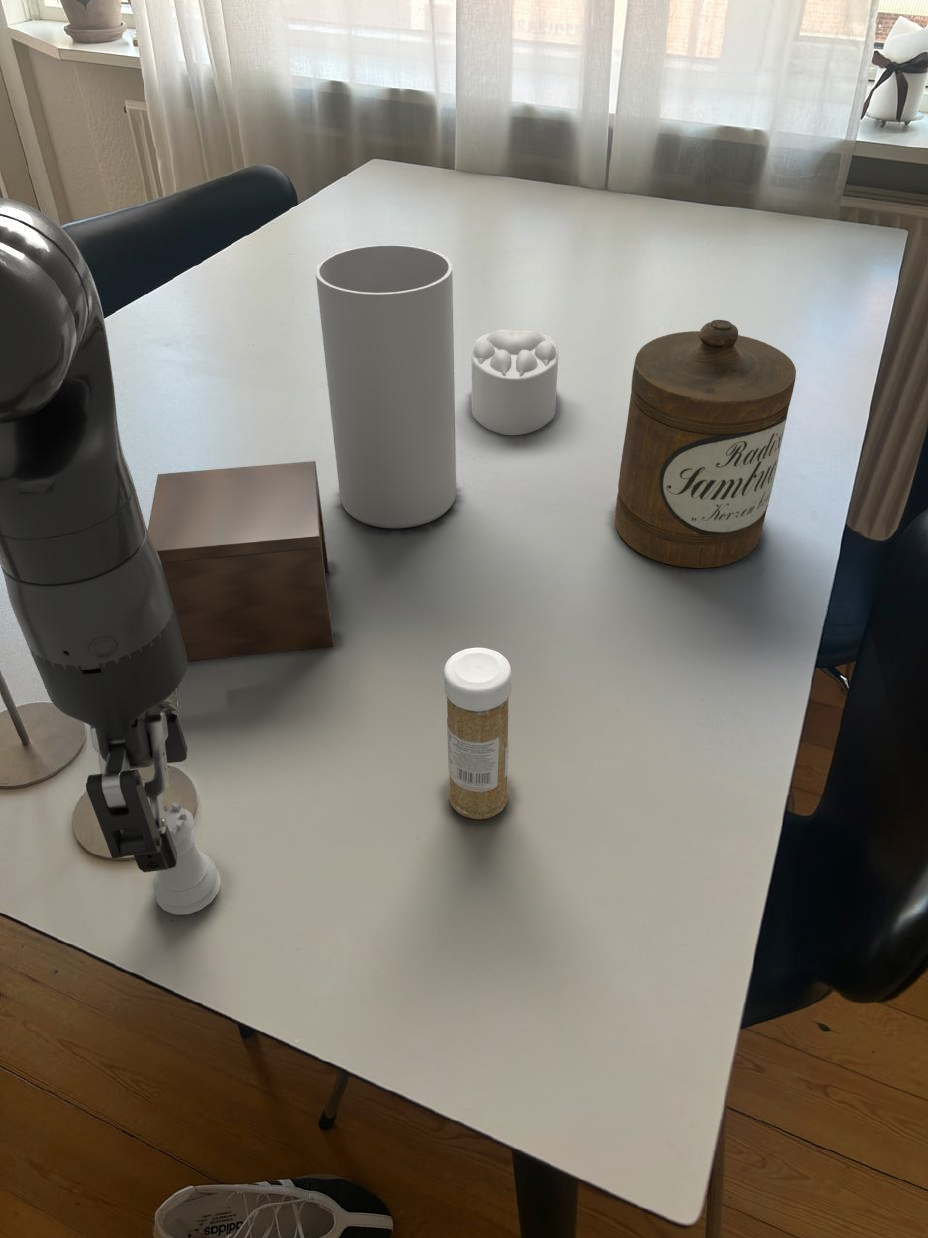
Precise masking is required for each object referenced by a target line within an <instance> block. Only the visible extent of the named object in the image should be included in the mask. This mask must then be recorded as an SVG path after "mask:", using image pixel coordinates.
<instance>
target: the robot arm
mask: <svg viewBox="0 0 928 1238" xmlns="http://www.w3.org/2000/svg"><path fill="white" fill-rule="evenodd" d="M91 272H92V271H91V270H90V267H89V266H88V263H87V261H86V259H85V257H84V256H83V254H82V252H81V250H80V249H79V247H78V246H77V244H76V243H75V241H74V240H73V239H72V237H71V236H70V235H69V234H68V233H67V232H66V231H65V230H64V229H63V228H62V227H61V226H60V224H58V223H57V222H56V221H54V220H53V219H52V218H51V217H49V216H48V215H47V214H46V213H44V212H42V211H40V210H39V209H37V208H35V207H33V206H31V205H29V204H26V203H24V202H22V201H19V200H15V199H11V198H7V197H0V568H1V571H2V574H3V576H4V577H3V578H4V581H5V585H6V592H7V595H8V596H7V597H8V600H9V603H10V605H11V608H12V611H13V613H14V616H15V618H16V620H17V623H18V625H19V627H20V630H21V632H22V635H23V637H24V640H25V642H26V645H27V647H28V649H29V652H30V654H31V656H32V659H33V662H34V663H35V666H36V668H37V671H38V673H39V675H40V676H39V677H40V678H41V681H42V684H43V685H44V687H45V690H46V693H47V695H48V697H49V699H50V701H51V703H52V704H53V705H54V706H55V707H56V708H57V709H58V711H60V712H61V713H63V714H64V715H66V716H68V717H70V718H72V719H75V720H78V721H81V722H82V723H84V724H86V725H88V726H90V728H89V729H90V738H91V746H92V748H93V750H94V751H95V752H96V753H97V755H98V764H99V771H100V773H96V774H89V775H87V779H86V783H85V790H86V792H87V796H88V797H89V801H90V804H91V806H92V808H93V811H94V814H95V816H96V817H95V818H96V819H97V822H98V825H99V827H100V829H101V832H102V835H103V837H104V840H105V843H106V845H107V848H108V851H109V854H110V856H111V859H120V858H123V857H129V856H130V857H131V856H133V857H134V859H135V862H136V864H137V867H138V869H139V870H140V871H142V872H143V873H151V872H156V871H160V870H167V869H170V868H173V867H175V866H176V863H177V851H176V848H175V845H174V842H173V840H172V837H171V834H170V831H169V828H168V825H167V820H166V818H165V813H164V805H163V803H164V799H163V798H164V797H163V793H164V792H165V791H166V790H167V789H168V788H169V786H170V773H169V767H168V766H169V765H168V764H172V763H173V764H174V763H181V762H185V760H186V759H188V745H187V742H186V738H185V736H184V733H183V729H182V726H181V723H180V719H179V716H178V715H179V710H180V709H181V704H180V701H179V700H178V693H177V691H178V690H177V689H179V686H180V684H181V683H182V681H183V679H184V677H185V675H186V672H187V668H188V661H187V653H186V649H185V646H184V642H183V639H182V635H181V631H180V628H179V624H178V621H177V617H176V613H175V610H174V606H173V603H172V599H171V596H170V592H169V589H168V585H167V581H166V578H165V574H164V571H163V567H162V564H161V561H160V558H159V555H158V553H157V551H156V549H155V547H154V545H153V543H152V540H151V538H150V536H149V534H148V527H147V525H146V522H145V517H144V514H143V511H142V507H141V503H140V499H139V497H138V493H137V489H136V486H135V483H134V479H133V475H132V473H131V470H130V467H129V465H128V462H127V460H126V457H125V454H124V451H123V447H122V442H121V441H122V440H121V437H120V431H119V430H120V429H119V423H118V422H119V421H118V414H117V405H116V404H117V402H116V395H115V394H116V393H115V384H114V377H113V370H112V361H111V356H110V348H109V341H108V335H107V327H106V322H105V319H104V318H105V317H104V312H103V307H102V304H101V300H100V299H101V298H100V296H99V293H98V289H97V286H96V284H95V283H96V282H95V280H94V277H93V275H92V273H91ZM150 766H153V777H148V778H144V777H143V778H142V776H141V773H140V771H139V769H142V768H148V767H150Z"/></svg>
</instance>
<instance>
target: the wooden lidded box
mask: <svg viewBox="0 0 928 1238" xmlns="http://www.w3.org/2000/svg"><path fill="white" fill-rule="evenodd" d="M317 471H318V470H317V463H316V461H315V460H312V461H300V462H298V461H297V462H288V463H276V464H263V465H251V466H240V467H239V466H238V467H227V468H217V469H216V468H215V469H201V470H194V471H193V470H191V471H190V470H189V471H180V472H166V473H157V476H156V481H155V486H154V487H155V488H154V492H153V498H152V504H151V508H150V509H151V510H150V514H149V520H148V525H147V531H148V534H149V536H150V538H151V540H152V543H153V545H154V547H155V549H156V551H157V553H158V555H159V558H160V561H161V564H162V567H163V571H164V574H165V578H166V581H167V585H168V589H169V592H170V596H171V599H172V603H173V606H174V610H175V613H176V617H177V621H178V624H179V628H180V631H181V635H182V639H183V642H184V646H185V649H186V653H187V662H192V661H203V660H211V659H220V658H230V657H231V658H232V657H241V656H251V655H260V654H270V653H280V652H289V651H298V650H307V649H308V650H309V649H317V648H328V647H334V645H335V644H334V642H335V641H334V633H333V625H332V618H331V617H332V616H331V608H330V602H329V593H328V586H327V577H326V575H327V574H328V575H329V574H330V567H329V559H328V551H327V543H326V536H325V527H324V518H323V512H322V511H323V510H322V502H321V495H320V487H319V478H318V472H317Z"/></svg>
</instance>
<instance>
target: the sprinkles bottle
mask: <svg viewBox="0 0 928 1238" xmlns="http://www.w3.org/2000/svg"><path fill="white" fill-rule="evenodd" d="M512 675H513V674H512V666H511V664H510V662H509V661H508V659H507V658H506V657H505V656H504V655H503V654H501V653H500V652H498V651H496V650H493V649H490V648H486V647H470V648H465V649H461V650H459V651H458V652H456V653H454V654H453V655H452V656H450V657H449V658H448V660H447V661H446V663H445V665H444V668H443V690H444V694H445V696H446V707H447V708H446V709H447V710H446V711H447V718H446V730H447V731H446V735H447V761H448V762H447V763H448V764H447V765H448V767H447V768H448V775H449V790H448V800H449V803H450V805H451V807H452V808H453V809H454V811H456V813H458V814H459V815H460V816H463V817H464V818H468V819H472V820H485V819H490V818H493V817H495V816H496V815H498V814H500V813H501V812H502V811H503V810H504V809H505V807H506V806H507V804H508V799H509V789H508V773H509V758H510V757H509V752H510V751H509V750H510V746H509V745H510V744H509V743H510V742H509V698H510V695H511V692H512V688H513V687H512V684H513V683H512V681H513V679H512V677H513V676H512Z"/></svg>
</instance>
